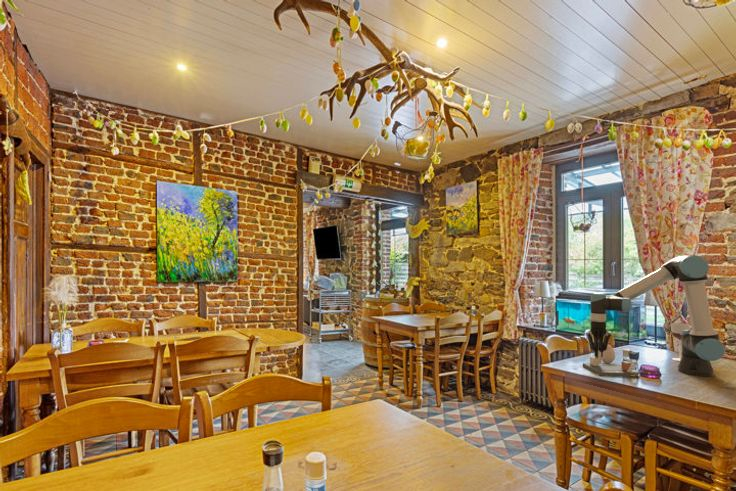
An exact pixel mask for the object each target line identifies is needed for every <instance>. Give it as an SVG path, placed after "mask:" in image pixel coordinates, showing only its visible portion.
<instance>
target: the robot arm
mask: <svg viewBox="0 0 736 491" xmlns="http://www.w3.org/2000/svg"><path fill="white" fill-rule="evenodd" d="M709 271H710V266H709V263H708V261H707V260H706V259H705V258H703V257H702V256H699V255H697V254H696V255H695V254H686V255H685V254H682V255H679V256H675V257H673V258H672V259H670V260H668V261H667V262H665V263H664V264H662V265H661V266H660V267H659V269H657V270H655V271H653V272H651V273H649V274H648V275H646V276H644V277H642V278H640V279H639V280H637V281H635V282H634V283H631V284H629V285H628V286H626V287H624V288H622V289H620V290H619V291H617V292H615V293H613V294H609V295H608V296H607V295H606V293H601V292H600V293H599V292H593V293H591V294H590V330H589V331H588V332H585V334H586V336H587V339H588V343H589V346H590V347H589V348H590V350H592V351H593V352H594V353H593V354H594V356H593V357H597V358H599V364H601V363H602V360H601V357H603V352H604V351H606V349H607V345H608V344H609V340H610V337H611V336H612V334H611V333H609V332H608V331H607V322H606V321H607V311H610V312H611V311H612V312H626V313H628V312H630V311H632V308H633V307H632V300H633V301H634V300H635V299H637V298H638V297H641V296H642V295H644V294H646V293H648V292H650V291H652V290H654V289H655V288H657V287H659V286H661V285H663V284H665V283H667V282H669V281H675V280H677V279H678V282H680V283H681V284H682V286H683V289H684V293H685V298H686V299H685V300H686V304H687V310H688V316H689V320H690V325H691V329H689V330H683V331H682V335H681V337H682V339H681V360H680V361H679V363H678V365H677V370H678V371H679V372H681V373H682V374H686V375H687V374H688V375H692V376H697V377H714V376H715V374H714V373H715V372H714V371H715V370H714V369H713V366H712V364H711V362H714V361H718V360H720V359H722V358H723V357H724V355H725V353H726V348H725V345H724V344H723V342H721V340H720V336H719V332H718V331H716V330H715V328H714V327H713V326H714V324H713V321H712V320H713V319H712V315H711V314H712V313H711V310H710V305H709V300H708V294H707V289H706V285H705V283H706V282H707V281H708V273H709Z"/></svg>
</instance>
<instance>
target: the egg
mask: <svg viewBox="0 0 736 491" xmlns="http://www.w3.org/2000/svg"><path fill="white" fill-rule="evenodd" d="M615 359H616V352H615V350H614V348H613V346H611V345H610V344H609V343H608V345H607V349H606V351H604V352H603V357H601V362H603V364H613V362H614V361H615Z"/></svg>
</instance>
